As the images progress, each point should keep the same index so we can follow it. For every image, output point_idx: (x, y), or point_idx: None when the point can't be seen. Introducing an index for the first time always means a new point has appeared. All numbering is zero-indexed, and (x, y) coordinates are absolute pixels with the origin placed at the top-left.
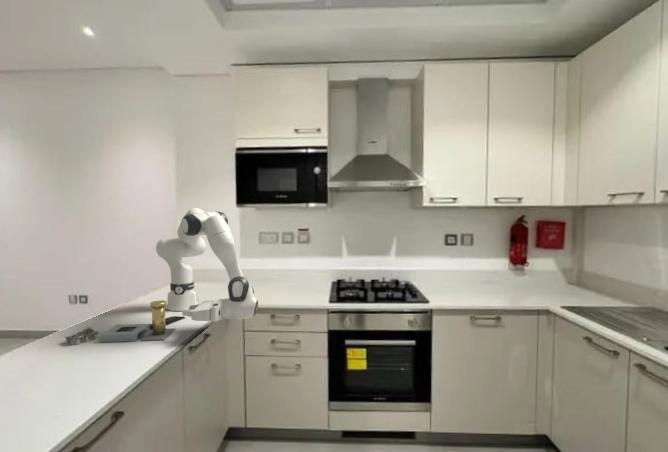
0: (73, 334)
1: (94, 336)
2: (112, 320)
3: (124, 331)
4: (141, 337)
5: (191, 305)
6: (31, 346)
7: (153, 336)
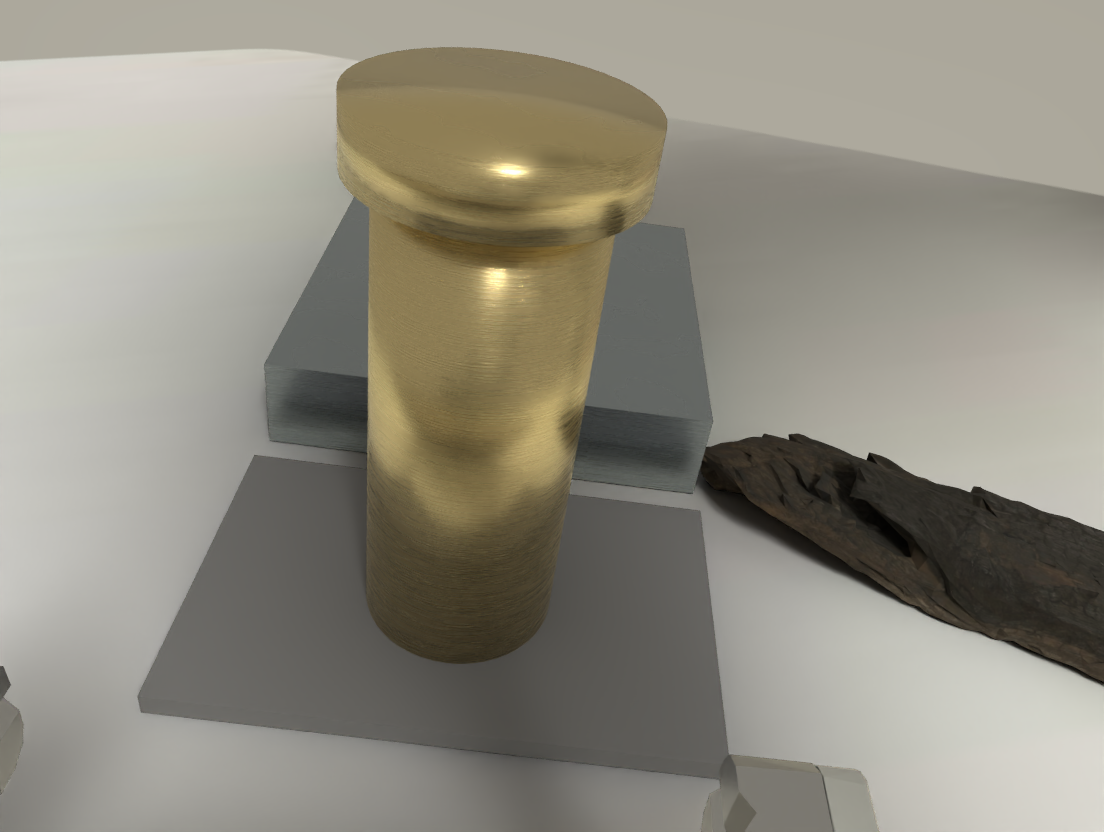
0: None
1: None
2: (988, 240)
3: None
4: None
5: (817, 813)
6: None
7: (339, 549)
